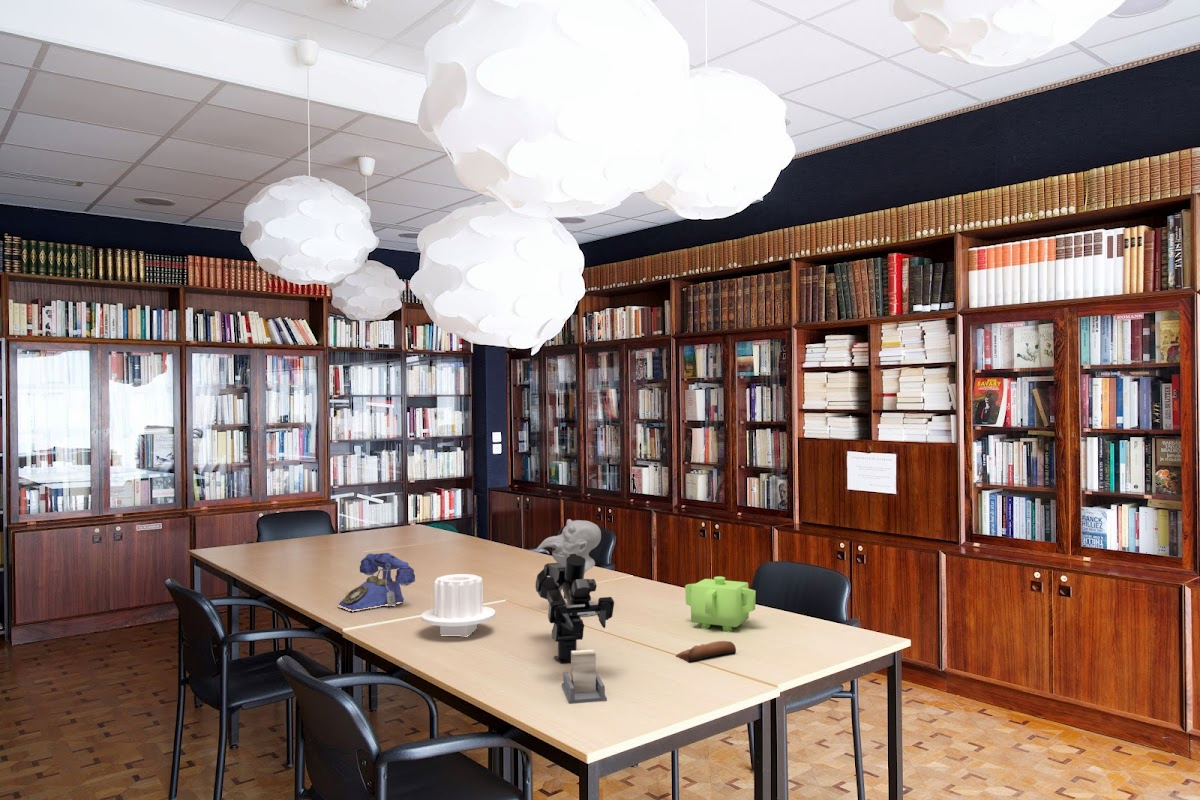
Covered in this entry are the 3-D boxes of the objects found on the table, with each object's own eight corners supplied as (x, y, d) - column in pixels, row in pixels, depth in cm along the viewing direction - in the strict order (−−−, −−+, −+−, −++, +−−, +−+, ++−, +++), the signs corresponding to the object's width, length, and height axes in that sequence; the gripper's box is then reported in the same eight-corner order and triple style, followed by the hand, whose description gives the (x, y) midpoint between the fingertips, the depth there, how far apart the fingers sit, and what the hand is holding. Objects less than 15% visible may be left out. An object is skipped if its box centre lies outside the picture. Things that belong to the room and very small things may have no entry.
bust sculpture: (541, 607, 322) (540, 516, 323) (603, 607, 321) (602, 516, 322) (535, 617, 306) (534, 522, 307) (600, 617, 305) (599, 522, 305)
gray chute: (561, 685, 229) (561, 672, 229) (597, 683, 231) (597, 669, 231) (568, 703, 216) (568, 688, 216) (606, 700, 217) (606, 685, 217)
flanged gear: (481, 644, 271) (480, 586, 271) (409, 641, 276) (408, 584, 276) (505, 625, 296) (504, 572, 296) (438, 622, 301) (438, 570, 301)
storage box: (674, 629, 287) (674, 579, 288) (698, 615, 307) (697, 568, 308) (744, 638, 276) (743, 586, 276) (764, 622, 296) (763, 574, 296)
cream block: (571, 688, 225) (571, 650, 225) (593, 686, 226) (592, 649, 226) (573, 692, 221) (573, 655, 221) (595, 691, 222) (595, 653, 222)
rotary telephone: (318, 601, 338) (318, 551, 338) (373, 592, 354) (373, 545, 354) (366, 619, 307) (366, 564, 308) (424, 608, 324) (423, 556, 324)
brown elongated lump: (719, 646, 265) (725, 631, 263) (731, 663, 260) (738, 647, 257) (673, 656, 256) (679, 640, 253) (685, 673, 251) (691, 656, 248)
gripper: (546, 573, 239) (558, 606, 226) (608, 569, 245) (624, 601, 231) (543, 606, 243) (555, 640, 230) (604, 601, 249) (619, 634, 235)
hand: (588, 628), depth 231 cm, fingers open, 9 cm apart
